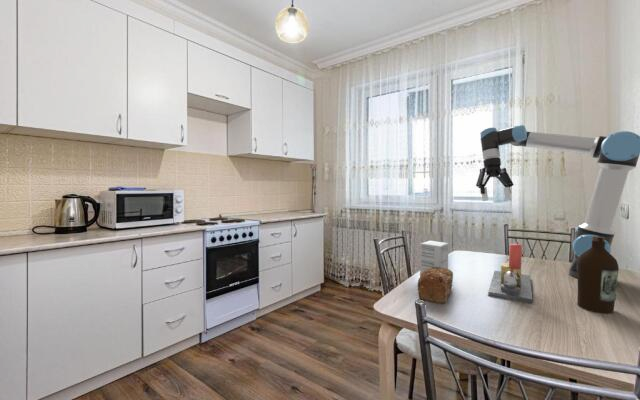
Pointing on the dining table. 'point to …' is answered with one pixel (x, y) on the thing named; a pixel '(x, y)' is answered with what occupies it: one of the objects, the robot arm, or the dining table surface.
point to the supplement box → (433, 255)
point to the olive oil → (597, 278)
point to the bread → (435, 284)
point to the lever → (515, 256)
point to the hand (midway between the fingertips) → (496, 200)
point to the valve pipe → (511, 284)
